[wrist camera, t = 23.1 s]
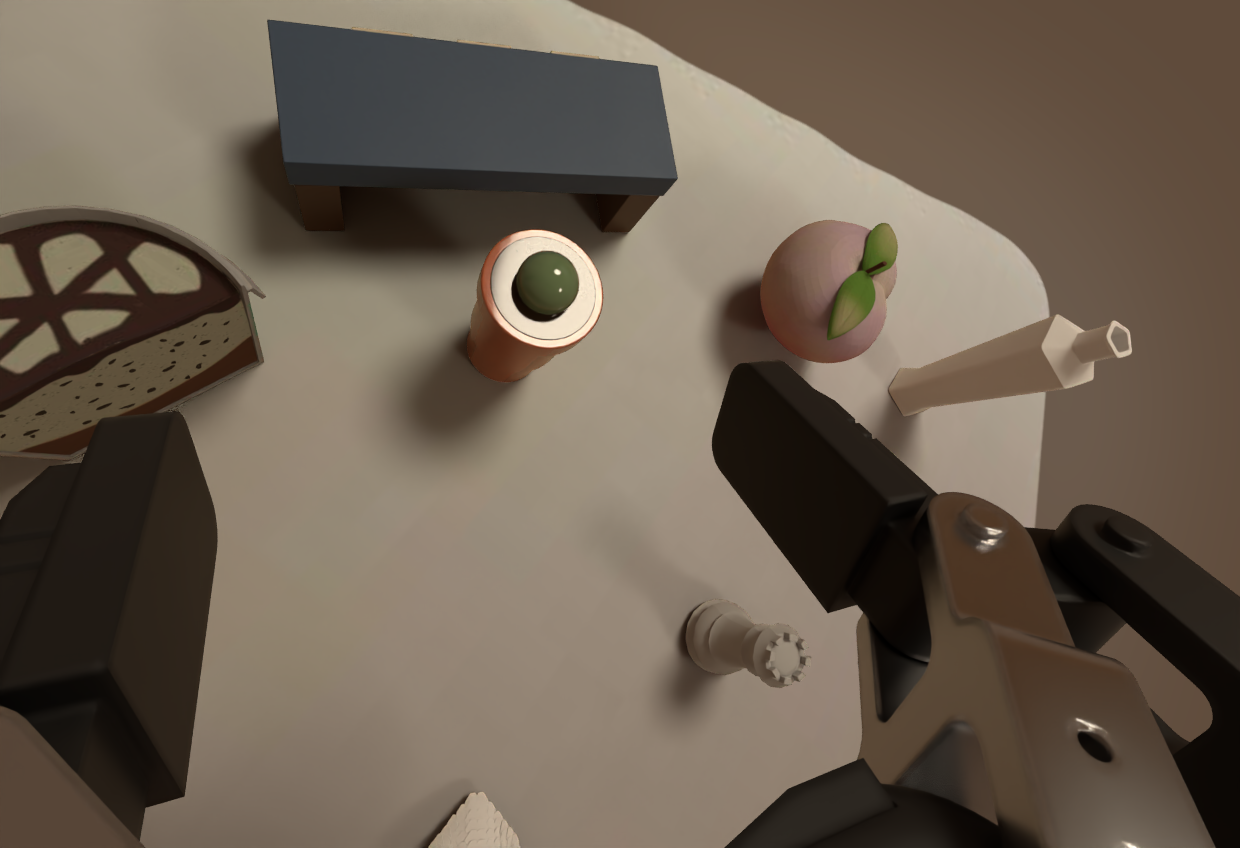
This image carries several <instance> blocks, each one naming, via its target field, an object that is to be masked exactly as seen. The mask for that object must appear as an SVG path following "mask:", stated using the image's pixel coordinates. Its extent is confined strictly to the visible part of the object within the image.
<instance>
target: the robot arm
mask: <svg viewBox="0 0 1240 848" xmlns="http://www.w3.org/2000/svg"><path fill="white" fill-rule="evenodd" d="M712 451H713V456H714V459H715V462H716V464H717V466H718V468H719V470H720V471H721V472H722V474H723V475H724V476H725V478H726V479H727V480H728V482H729V483H730V484H731V486H732V487H733V488H734V490H735V491H736V492H737V494H738V495H739V496H740V497H741V499H742V500H743V501H744V503H745V504H746V505H747V507H748V508H749V509H750V511H751V512H752V513H753V515H754V516H755V517H756V519H757V520H758V521H759V523H760V524H761V525H762V527H763V528H764V529H765V531H766V532H767V533H768V535H769V536H770V537H771V539H772V540H773V541H774V543H775V544H776V545H777V547H778V548H779V549H780V550H781V552H782V553H783V554H784V556H785V557H786V558H787V560H788V561H789V562H790V564H791V565H792V566H793V568H794V569H795V570H796V572H797V573H798V574H799V576H800V577H801V578H802V580H803V581H804V582H805V584H806V585H807V586H808V588H809V589H810V590H811V592H812V593H813V594H814V596H815V597H816V598H817V599H818V601H819V602H820V603H821V605H822V606H823V607H824V609H825V610H826V611H827V613H830V612H833V611H837V610H840V609H844V608H847V607H851V606H854V605H858V607H859V608H860V609H861V610H862V611H863V614H862V616H861V617H860V619H859V621H858V623H857V629H856V634H857V651H858V668H859V685H860V702H861V719H862V741H861V747H860V752H859V755H858V758H857V760H856V761H854V762H852V763H849V764H847V765H844V766H842V767H840V768H837V769H835V770H832V771H830V772H828V773H825V774H823V775H820V776H818V777H815V778H813V779H811V780H808V781H806V782H803V783H801V784H799V785H796V786H794V787H791V788H789V789H787V790H786V791H785V792H784V793H783V794H782V795H781V796H780V797H779V798H778V799H777V800H776V801H774V802H773V803H772V804H771V805H770V806H769V807H768V808H767V809H766V810H765V811H764V812H763V813H761V814H760V815H759V816H758V817H757V818H756V819H755V820H754V821H753V822H752V823H751V824H750V825H748V826H747V827H746V828H745V829H744V830H743V831H742V832H741V833H740V834H739V835H738V836H737V837H735V838H734V839H733V840H732V841H731V842H730V843H729V844H728V845H727V846H726V847H725V848H1240V597H1239V596H1238V595H1237V594H1235V593H1234V592H1233V591H1231V590H1230V589H1229V588H1227V587H1226V586H1225V585H1223V584H1222V583H1221V582H1220V581H1218V580H1217V579H1216V578H1214V577H1213V576H1211V575H1210V574H1209V573H1208V572H1206V571H1205V570H1204V569H1203V568H1201V567H1200V566H1199V565H1197V564H1196V563H1195V562H1193V561H1192V560H1191V559H1189V558H1188V557H1187V556H1185V555H1184V554H1183V553H1181V552H1180V551H1179V550H1178V549H1176V548H1175V547H1174V546H1172V545H1171V544H1170V543H1168V542H1167V541H1166V540H1164V539H1163V538H1162V537H1160V536H1159V535H1158V534H1157V533H1155V532H1154V531H1152V530H1151V529H1149V528H1148V527H1147V526H1145V525H1144V524H1142V523H1140V522H1138V521H1137V520H1135V519H1133V518H1131V517H1129V516H1127V515H1125V514H1123V513H1121V512H1118V511H1115V510H1113V509H1110V508H1106V507H1102V506H1097V505H1088V504H1086V505H1079V506H1076V507H1075V508H1073V509H1072V510H1071V512H1070V513H1069V514H1068V515H1067V516H1066V518H1065V519H1064V520H1063V521H1062V523H1061V524H1060V525H1059V527H1058V528H1057V529H1056V530H1049V529H1038V528H1026V527H1023V526H1022V525H1021V524H1020V523H1019V522H1018V521H1017V520H1016V519H1015V518H1014V517H1013V516H1011V515H1010V514H1009V513H1007V512H1006V511H1004V510H1003V509H1001V508H1000V507H998V506H996V505H994V504H992V503H990V502H988V501H986V500H984V499H981V498H979V497H976V496H973V495H969V494H964V493H958V492H947V493H941V494H939V495H938V494H937V493H936V492H935V491H934V490H932V489H931V488H930V487H929V486H928V485H927V484H926V483H925V482H924V481H923V480H921V479H920V478H919V477H918V476H917V475H916V474H915V473H914V472H913V471H912V470H910V469H909V468H908V467H907V466H906V465H905V464H904V463H903V462H902V461H901V460H899V459H898V458H897V457H896V456H895V455H894V454H893V453H892V452H891V451H890V450H888V449H887V448H886V447H885V446H884V445H883V444H882V443H881V442H880V441H879V440H877V439H872V434H871V433H870V432H869V431H868V430H866V429H865V428H864V427H863V426H862V425H861V424H860V423H855V419H854V418H853V417H852V416H851V415H850V414H849V413H848V412H847V411H846V410H844V409H843V408H842V407H841V406H840V405H839V404H838V403H837V402H836V401H835V400H833V399H831V398H829V397H827V396H826V395H824V394H822V393H820V392H819V391H817V390H815V389H814V388H812V387H811V386H810V385H809V384H808V383H807V382H806V381H805V380H804V379H803V378H802V377H801V376H799V375H798V374H797V373H796V372H795V371H794V370H793V369H792V368H791V367H790V366H789V365H788V364H786V363H785V362H783V361H781V360H772V361H761V362H749V363H740V364H738V365H737V366H736V367H735V368H734V369H733V371H732V373H731V375H730V378H729V381H728V385H727V388H726V391H725V395H724V398H723V402H722V405H721V408H720V412H719V415H718V418H717V422H716V425H715V429H714V432H713V436H712ZM216 554H217V523H216V515H215V510H214V505H213V502H212V498H211V495H210V492H209V489H208V486H207V483H206V480H205V477H204V474H203V471H202V468H201V465H200V462H199V459H198V456H197V453H196V450H195V447H194V444H193V441H192V438H191V435H190V432H189V429H188V426H187V423H186V421H185V419H184V417H183V416H182V414H181V413H180V412H178V411H173V412H162V413H150V414H139V415H127V416H116V417H104V418H102V419H100V420H99V421H98V423H97V425H96V427H95V430H94V432H93V435H92V437H91V440H90V442H89V445H88V447H87V450H86V452H85V455H84V457H83V460H82V462H81V463H74V464H65V465H56V466H49V467H48V468H47V469H46V470H44V471H43V472H42V473H41V474H40V475H39V476H38V477H36V478H35V479H34V480H33V481H32V482H31V483H29V484H28V485H27V486H26V487H25V488H24V489H23V490H21V491H20V492H19V493H18V494H17V495H16V496H14V497H13V498H12V499H11V500H10V501H9V503H8V505H7V507H6V509H5V511H4V513H3V515H2V517H1V519H0V848H145V847H144V846H143V845H142V844H141V843H140V842H139V841H140V836H141V830H142V824H143V818H144V813H145V808H146V807H150V806H153V805H157V804H160V803H164V802H167V801H171V800H174V799H178V798H181V797H184V796H185V789H186V781H187V773H188V766H189V758H190V751H191V743H192V736H193V728H194V720H195V713H196V705H197V698H198V690H199V682H200V675H201V667H202V660H203V652H204V645H205V637H206V629H207V622H208V614H209V607H210V599H211V591H212V584H213V576H214V569H215V561H216ZM1126 623H1128V625H1130V626H1131V627H1132V628H1133V629H1134V630H1135V631H1136V632H1137V633H1138V634H1140V635H1141V636H1142V637H1143V638H1144V639H1145V640H1146V641H1147V642H1148V643H1150V644H1151V645H1152V646H1153V647H1154V648H1155V649H1156V650H1157V651H1158V652H1159V653H1160V654H1162V655H1163V656H1164V657H1165V658H1166V659H1167V660H1168V661H1169V662H1170V663H1172V664H1173V665H1174V666H1175V667H1176V668H1177V669H1178V670H1179V671H1180V672H1181V673H1183V674H1184V675H1185V676H1186V677H1187V678H1188V679H1189V680H1190V681H1191V682H1193V683H1194V684H1195V685H1196V686H1197V687H1198V688H1199V689H1200V690H1201V691H1202V692H1203V694H1204V695H1205V696H1206V698H1207V700H1208V701H1209V703H1210V706H1211V708H1212V713H1213V720H1212V724H1211V726H1210V728H1209V729H1208V730H1206V731H1205V732H1204V733H1202V734H1201V735H1200V736H1198V737H1197V738H1196V739H1194V740H1193V741H1192V742H1188V741H1186V740H1185V739H1183V738H1182V737H1180V736H1179V735H1177V734H1176V733H1175V732H1174V731H1173V730H1172V729H1171V728H1170V727H1169V726H1168V725H1167V724H1166V723H1165V722H1164V721H1163V720H1162V719H1161V718H1160V717H1159V716H1158V715H1157V714H1156V713H1155V712H1154V711H1153V710H1152V709H1151V708H1150V707H1149V706H1148V704H1147V702H1146V700H1145V697H1144V695H1143V693H1142V691H1141V689H1140V687H1139V685H1138V683H1137V681H1136V679H1135V677H1134V676H1133V674H1132V673H1131V672H1130V670H1129V669H1128V668H1127V667H1126V666H1125V665H1124V664H1123V663H1121V662H1119V661H1118V660H1116V659H1113V658H1110V657H1107V656H1103V655H1100V654H1097V653H1096V652H1097V651H1098V650H1099V649H1100V648H1101V647H1102V646H1103V645H1104V644H1105V643H1106V642H1107V641H1108V640H1109V639H1110V638H1111V637H1112V636H1113V635H1114V634H1115V633H1117V632H1118V631H1119V630H1120V628H1121V627H1123V626H1124V625H1125V624H1126Z"/></svg>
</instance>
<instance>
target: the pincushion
mask: <svg viewBox="0 0 1240 848" xmlns="http://www.w3.org/2000/svg"><path fill="white" fill-rule="evenodd" d="M428 848H521V847H520V846H519V839H518V837H517V835H516V833H514V832H513V830H512V828H511V826H510V827H509V826H508V824H507V822H506V820H503V817H502V815H501V814H500V812H499V810H498V811H496V809H495V807H494V805H493V803H492V802H488V799H487V797H486V795H485V793H484V792H479V793H478V794H477V795H476V793H470V794H469V796H468V798H467V800H466V801H465V804H461V806H460V808H459V809H458V811H457V812H456V815H452V817H451V818H450V820H449V821H448V823H447V825H445V827H444V828H443V830H442V831H441V833H440V834H438V835H437V836H436V838H435V839H434V841H432V842H431V844H430V845H429V847H428Z"/></svg>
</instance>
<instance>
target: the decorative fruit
mask: <svg viewBox="0 0 1240 848" xmlns="http://www.w3.org/2000/svg"><path fill="white" fill-rule="evenodd" d="M897 249H898V245H897V239H896V236H895V233H894V231H893V230H892V228H891V227H890V225H889V224H887V223H881V224H879V225H877V226H876V227H875V228H874V229H873V230H872V231H871V230H869V229H867V228H865V227H862V226H859V225H856V224H852V223H847V222H841V221H835V220H824V221H818V222H814V223H811V224H808V225H806V226H804V227H802V228H800V229H799V230H797V231H795V232H794V233H793V234H791V235H790V236H789V237H788V238H787V239H786V240H785V241H783V242H782V243H781V244H780V246H779V247H778V248H777V249H776V250H775V252H774V253H773V254H772V256H771V258H770V260H769V262H768V264H767V266H766V269H765V272H764V275H763V278H762V283H761V291H760V298H761V305H762V310H763V314H764V317H765V320H766V323H767V325H768V327H769V329H770V331H771V333H772V334H773V336H774V337H775V338H776V339H777V340H778V341H779V342H780V343H781V344H782V345H783V346H784V347H785V348H786V349H788V350H789V351H790V352H792V353H793V354H795V355H797V356H799V357H801V358H803V359H806V360H809V361H814V362H819V363H836V362H842V361H846V360H849V359H852V358H854V357H857V356H859V355H860V354H862V353H863V352H864V351H866V350H867V349H868V348H869V347H870V346H871V345H872V343H873V342H874V341H875V340H876V338H877V337H878V335H879V333H880V332H881V330H882V328H883V325H884V322H885V319H886V310H887V307H886V299H887V298H888V296H889V295H890V293H891V292H892V289H893V287H894V285H895V281H896V277H897V269H896V264H895V260H896V256H897Z"/></svg>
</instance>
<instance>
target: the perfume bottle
mask: <svg viewBox="0 0 1240 848" xmlns="http://www.w3.org/2000/svg"><path fill="white" fill-rule="evenodd" d="M1131 353H1132V347H1131V339H1130V332H1129V330H1128V329H1127V328H1125V327H1124V326H1122V325H1121V324H1119V323H1118V322H1116V321H1112V322H1111V323H1110V324H1109V325H1107V326H1103V327H1100V328H1096V329H1093V330H1088V331H1084V330H1082V329H1081V328H1079V327H1078V326H1076V325H1075V324H1073V323H1071V322H1070V321H1068V320H1067V319H1065V318H1064V317H1062V316H1060V315H1058V314H1057V315H1055V316H1052V317H1049V318H1047V319H1044V320H1042V321H1039V322H1037V323H1034V324H1031V325H1029V326H1026V327H1024V328H1021V329H1019V330H1016V331H1013V332H1011V333H1008V334H1006V335H1003V336H1000V337H998V338H995V339H993V340H990V341H988V342H985V343H982V344H980V345H977V346H975V347H972V348H970V349H967V350H964V351H962V352H959V353H957V354H954V355H952V356H949V357H946V358H944V359H941V360H939V361H936V362H934V363H931V364H928V365H926V366H923V367H921V368H901V369H900V370H899V372H898V373H897V375H896V377H895V378H894V380H893V382H892V384H891V385H890V387H889V393H890V394H891V396H892V398H893V400H894V401H895V403H896V405H897V406H898V408H899V410H900V411H901V413H902V415H903V416H905V417H906V416H909V415H913V414H916V413H919V412H923V411H925V410H927V409H929V408H931V407H936V406H944V405H951V404H958V403H965V402H973V401H980V400H987V399H994V398H1002V397H1009V396H1016V395H1023V394H1030V393H1038V392H1045V391H1052V390H1059V389H1066V388H1070V387H1073V386H1076V385H1079V384H1082V383H1085V382H1088V381H1091V380H1093V378H1094V361H1099V360H1103V359H1107V358H1112V357H1117V358H1122V357H1124V356H1128V355H1130V354H1131Z"/></svg>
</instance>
